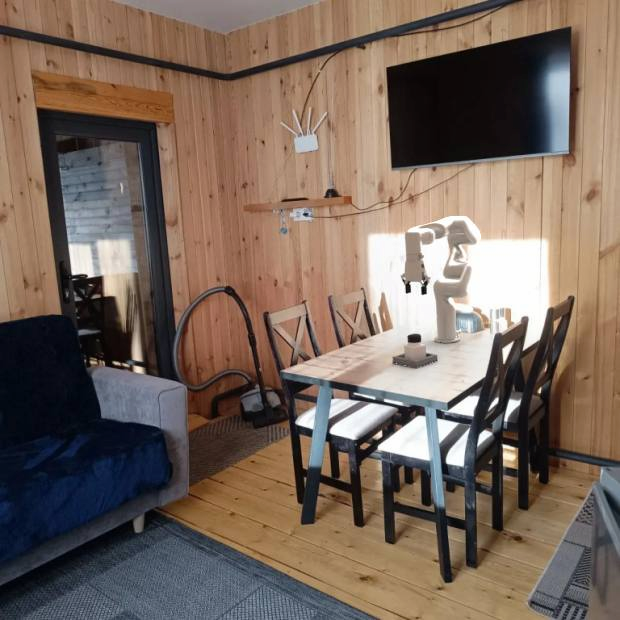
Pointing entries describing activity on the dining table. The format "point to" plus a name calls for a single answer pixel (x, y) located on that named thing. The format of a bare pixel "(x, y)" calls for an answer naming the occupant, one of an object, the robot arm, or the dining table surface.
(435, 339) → the robot arm
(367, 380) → the dining table surface
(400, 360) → the tray
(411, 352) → the medicine bottle
